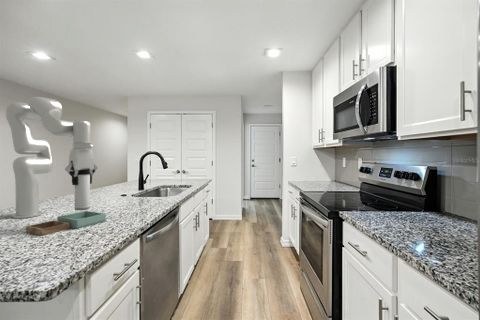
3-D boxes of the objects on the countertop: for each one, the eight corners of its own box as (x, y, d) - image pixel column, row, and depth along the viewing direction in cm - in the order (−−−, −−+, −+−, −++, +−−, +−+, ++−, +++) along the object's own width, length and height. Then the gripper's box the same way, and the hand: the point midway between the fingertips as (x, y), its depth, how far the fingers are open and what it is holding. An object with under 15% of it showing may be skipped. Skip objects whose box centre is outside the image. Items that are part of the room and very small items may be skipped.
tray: (57, 225, 122) (57, 216, 122) (86, 218, 135) (86, 210, 135) (77, 229, 116) (77, 220, 116) (105, 221, 130) (105, 213, 129)
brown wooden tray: (26, 232, 111) (26, 226, 111) (54, 225, 121) (53, 220, 121) (41, 235, 107) (41, 229, 107) (69, 228, 117) (69, 223, 117)
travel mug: (93, 207, 129) (93, 167, 128) (83, 210, 122) (84, 167, 122) (81, 207, 129) (81, 167, 129) (71, 210, 123) (71, 167, 123)
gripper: (93, 147, 135) (93, 182, 135) (58, 146, 119) (58, 185, 119) (103, 147, 131) (103, 182, 132) (68, 146, 116) (69, 186, 116)
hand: (82, 183), depth 126 cm, fingers closed on travel mug, 6 cm apart
